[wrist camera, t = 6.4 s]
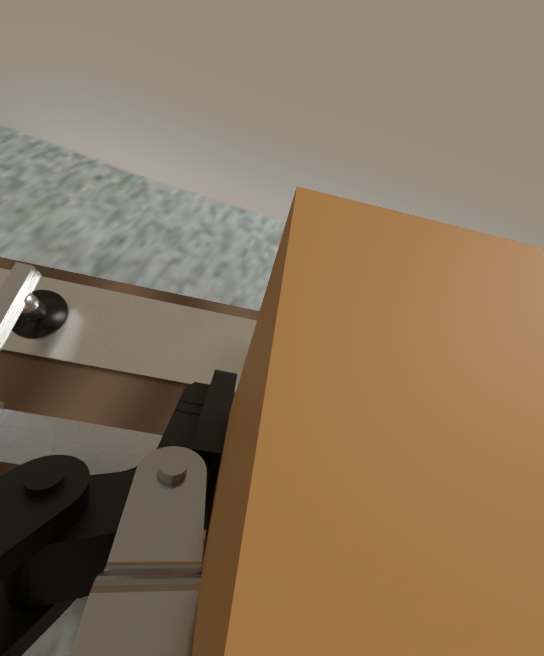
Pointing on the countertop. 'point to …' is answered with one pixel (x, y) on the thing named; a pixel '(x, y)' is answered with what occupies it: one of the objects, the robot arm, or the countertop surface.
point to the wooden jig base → (96, 375)
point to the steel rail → (50, 432)
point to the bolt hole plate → (130, 334)
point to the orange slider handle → (383, 447)
